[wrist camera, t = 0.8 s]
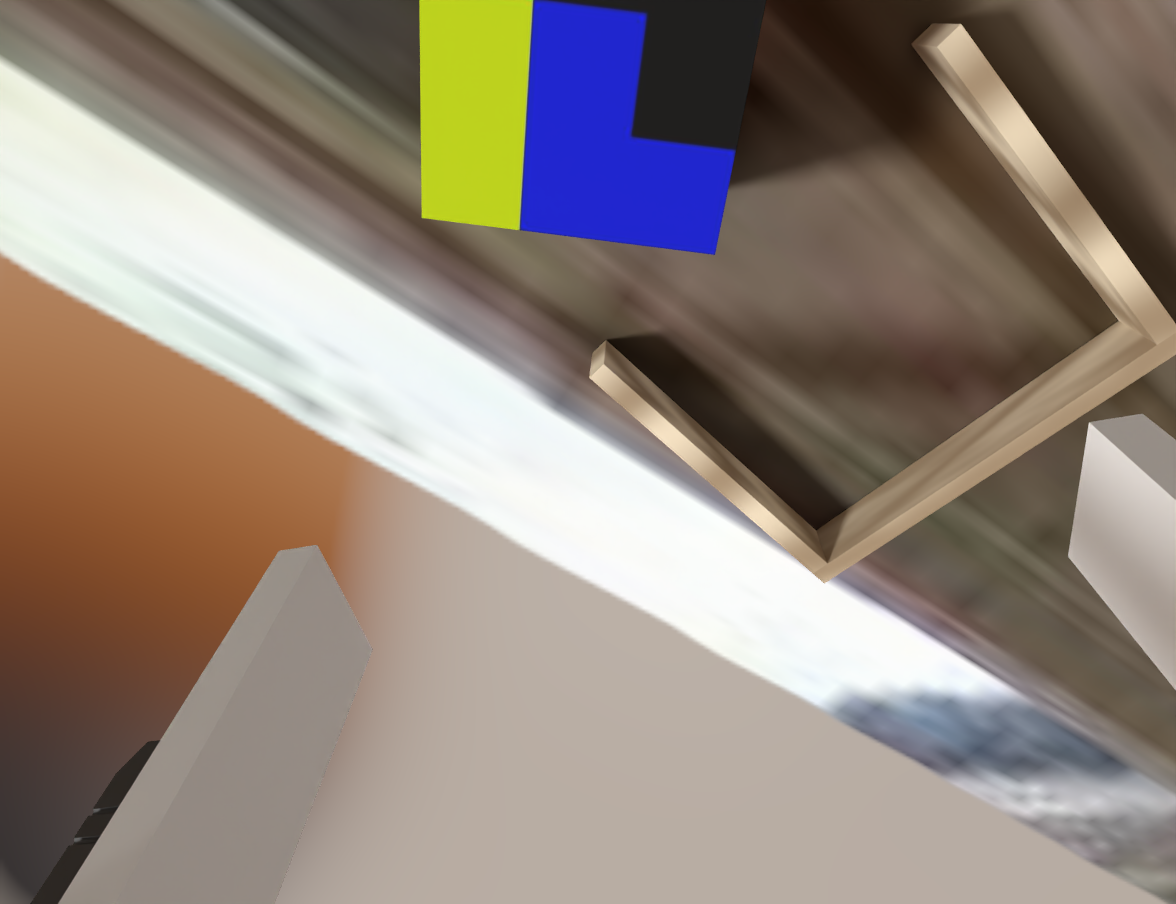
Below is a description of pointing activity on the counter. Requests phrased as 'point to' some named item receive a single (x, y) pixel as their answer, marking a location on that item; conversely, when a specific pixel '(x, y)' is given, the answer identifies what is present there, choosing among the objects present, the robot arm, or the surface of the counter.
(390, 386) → the counter surface
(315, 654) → the robot arm
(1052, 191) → the tray
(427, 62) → the puzzle toy
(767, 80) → the counter surface
